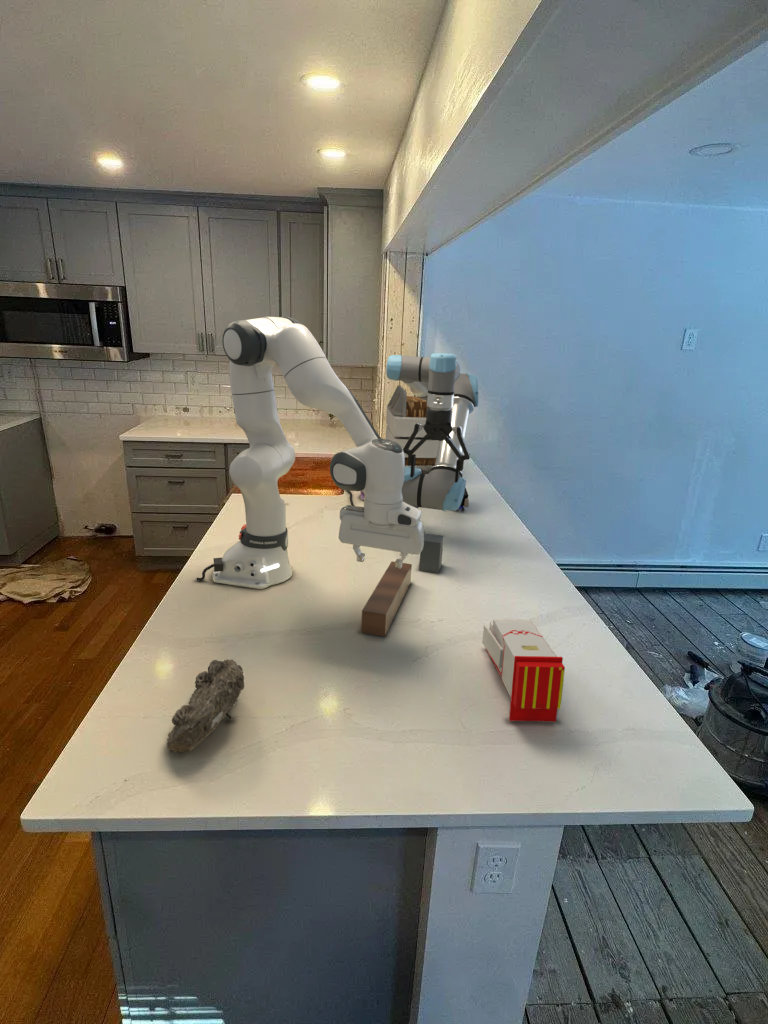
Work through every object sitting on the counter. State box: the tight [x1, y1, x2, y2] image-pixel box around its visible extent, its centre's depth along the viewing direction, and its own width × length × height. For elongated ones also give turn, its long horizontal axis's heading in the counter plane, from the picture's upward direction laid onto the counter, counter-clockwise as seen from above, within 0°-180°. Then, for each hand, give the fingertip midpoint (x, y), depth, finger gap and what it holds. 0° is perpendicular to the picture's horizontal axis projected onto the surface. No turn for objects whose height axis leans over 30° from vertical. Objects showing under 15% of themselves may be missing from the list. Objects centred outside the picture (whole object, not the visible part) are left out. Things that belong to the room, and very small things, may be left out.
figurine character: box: [455, 486, 470, 512], centre depth 229 cm, size 7×8×15 cm
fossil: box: [166, 658, 245, 754], centre depth 106 cm, size 22×10×15 cm
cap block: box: [418, 532, 445, 574], centre depth 173 cm, size 6×6×10 cm
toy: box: [481, 618, 566, 722], centre depth 122 cm, size 12×13×30 cm
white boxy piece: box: [384, 384, 439, 467], centre depth 268 cm, size 34×33×41 cm
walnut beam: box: [360, 560, 413, 637], centre depth 151 cm, size 30×6×6 cm, turn 166°
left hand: (379, 564), depth 136 cm, fingers open, 8 cm apart
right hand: (434, 478), depth 172 cm, fingers open, 13 cm apart
